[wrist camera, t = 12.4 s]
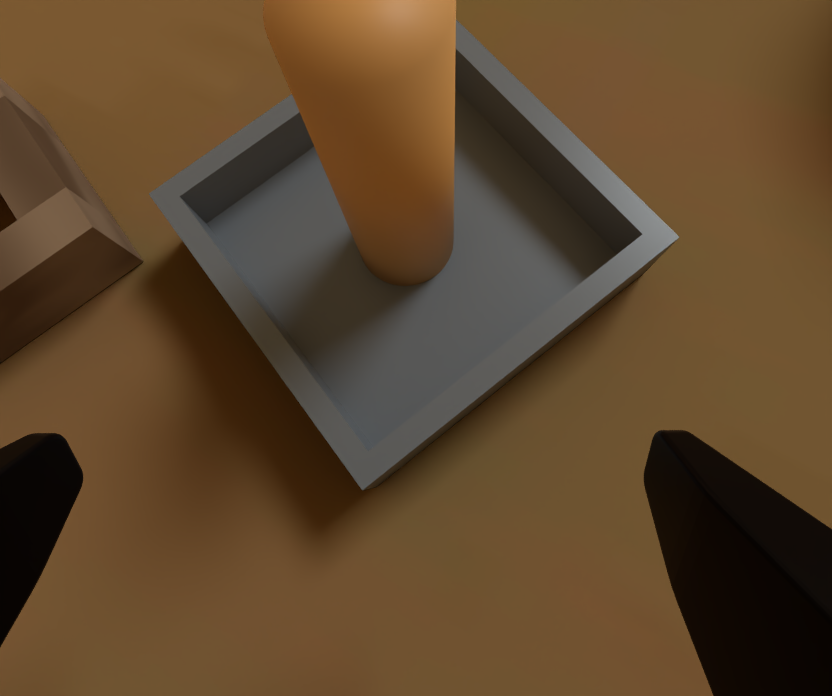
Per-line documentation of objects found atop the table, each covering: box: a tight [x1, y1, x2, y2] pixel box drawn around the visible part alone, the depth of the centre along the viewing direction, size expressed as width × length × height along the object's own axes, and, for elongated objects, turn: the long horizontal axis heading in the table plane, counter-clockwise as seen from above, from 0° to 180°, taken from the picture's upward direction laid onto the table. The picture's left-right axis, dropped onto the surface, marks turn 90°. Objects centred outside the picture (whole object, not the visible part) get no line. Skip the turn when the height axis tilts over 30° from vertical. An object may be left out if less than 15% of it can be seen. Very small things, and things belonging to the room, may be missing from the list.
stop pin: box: [263, 0, 456, 286], centre depth 14 cm, size 4×4×10 cm
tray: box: [149, 20, 679, 490], centre depth 18 cm, size 13×13×3 cm
